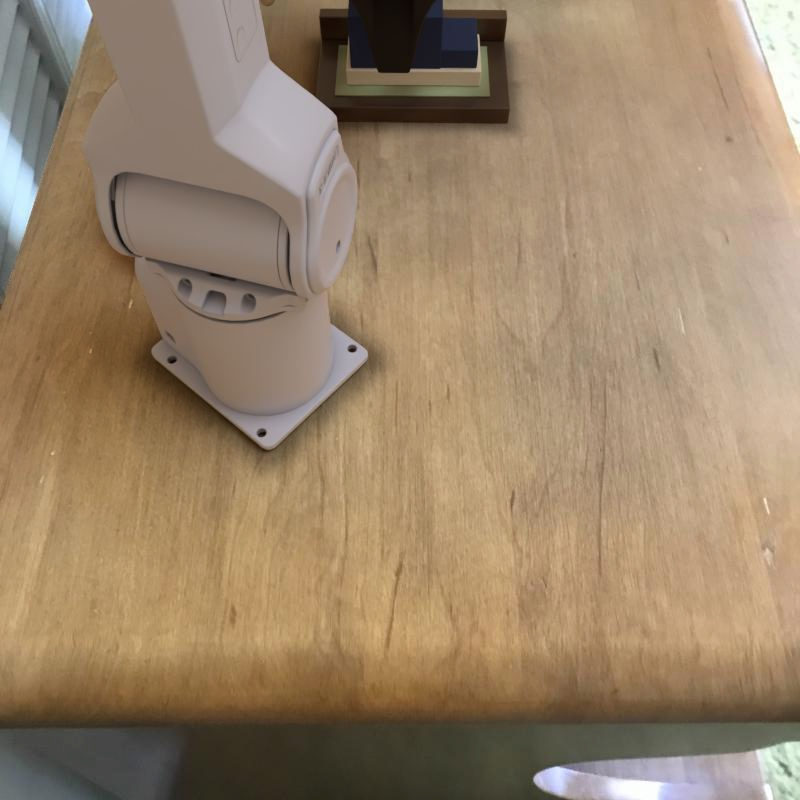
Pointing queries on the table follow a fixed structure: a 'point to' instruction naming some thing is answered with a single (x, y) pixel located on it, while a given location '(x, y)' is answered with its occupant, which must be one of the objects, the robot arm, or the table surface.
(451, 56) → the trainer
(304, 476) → the table surface
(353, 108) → the brown tray with backboard
